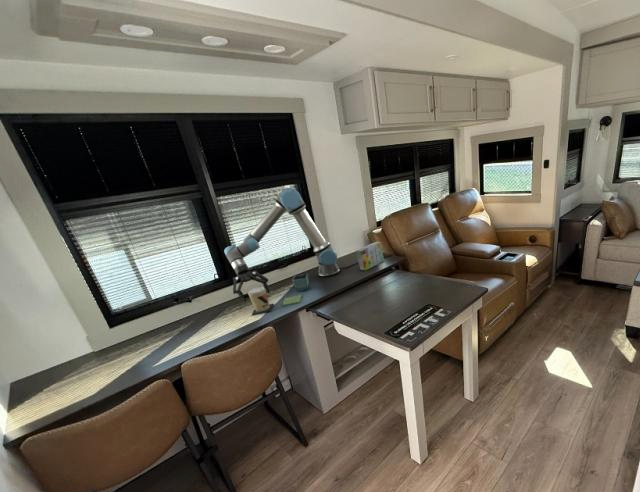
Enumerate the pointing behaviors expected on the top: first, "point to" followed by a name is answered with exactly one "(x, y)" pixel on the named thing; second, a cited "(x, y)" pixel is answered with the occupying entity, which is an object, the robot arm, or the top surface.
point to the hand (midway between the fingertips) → (257, 296)
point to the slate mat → (263, 311)
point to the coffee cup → (259, 299)
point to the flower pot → (301, 282)
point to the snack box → (370, 256)
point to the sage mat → (292, 300)
